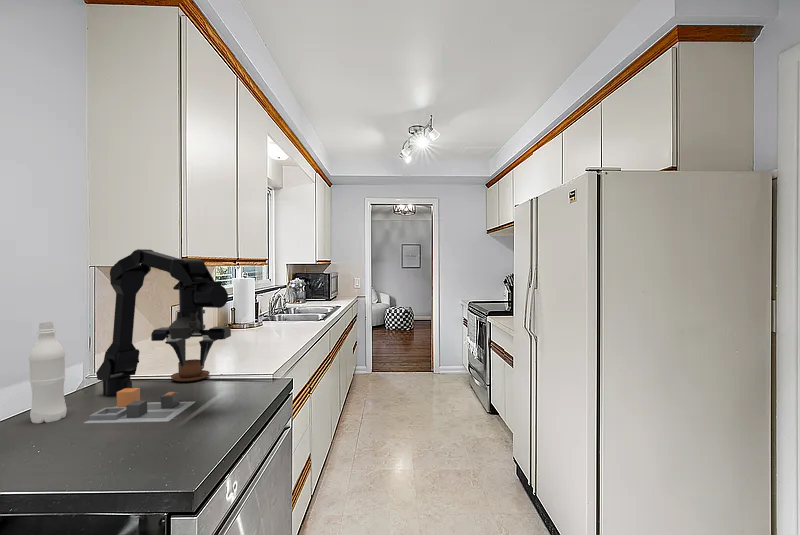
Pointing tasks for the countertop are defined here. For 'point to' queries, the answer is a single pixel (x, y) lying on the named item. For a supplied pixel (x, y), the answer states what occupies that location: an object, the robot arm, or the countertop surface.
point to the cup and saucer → (190, 371)
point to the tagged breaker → (170, 400)
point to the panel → (176, 411)
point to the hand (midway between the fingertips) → (192, 366)
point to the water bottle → (47, 376)
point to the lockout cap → (127, 396)
